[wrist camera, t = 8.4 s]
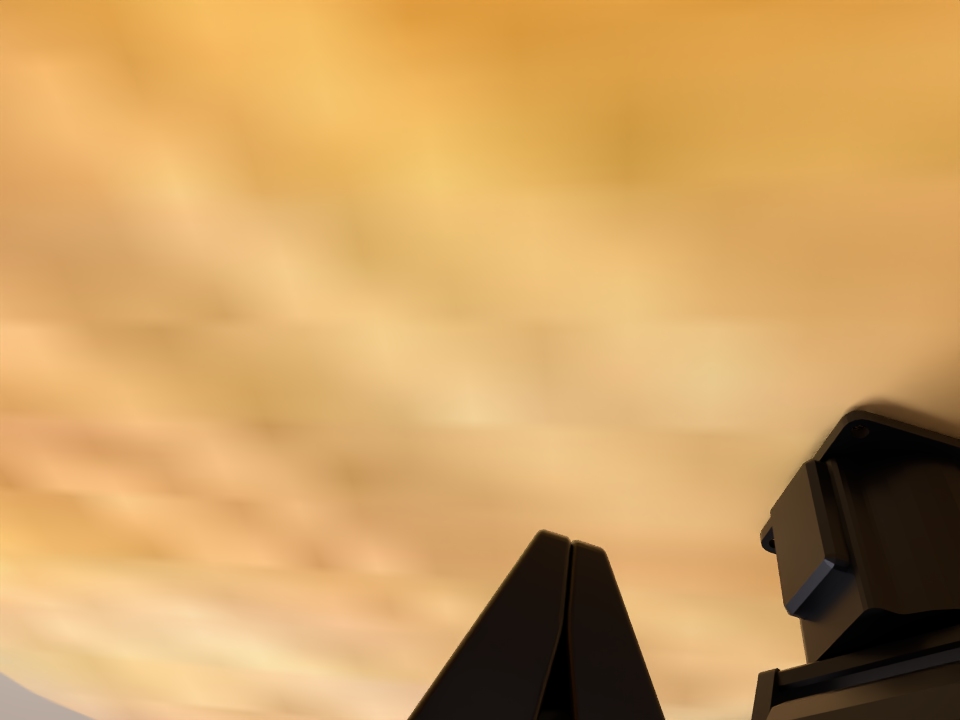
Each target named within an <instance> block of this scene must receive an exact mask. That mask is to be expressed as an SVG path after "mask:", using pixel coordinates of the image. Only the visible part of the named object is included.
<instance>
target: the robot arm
mask: <svg viewBox="0 0 960 720" xmlns="http://www.w3.org/2000/svg"><path fill="white" fill-rule="evenodd" d="M859 425H862V426H865V427H864V428H862V429H859V430H853V428H854V427H855V426H859ZM770 514H771V518H770V519H769V521H768V522H767V523H766V525H765V526H764V528H763V529H762V530H761V533H760V538H761V544H762V547H763V548H764V549H765V550H766V551H768V552H771V553H774V554H776V555H777V562H778V569H779V576H780V583H781V589H782V596H783V603H784V607H785V608H786V610H787V612H788V614H789V615H791V616H794V617H798V618H799V619H800V625H801V631H802V637H803V643H804V649H805V655H806V661H807V664H804V665H801V666H797V667H793V668H789V669H786V670H782V671H780V670H779V669H778V668H776V669H772V670H768V671H765V672H761V673H759V675H758V681H757V687H756V694H755V700H754V706H753V713H752V719H751V720H960V440H958V439H955V438H952V437H948V436H945V435H942V434H939V433H935V432H932V431H929V430H925V429H922V428H919V427H915V426H912V425H909V424H905V423H902V422H899V421H896V420H892V419H889V418H886V417H882V416H879V415H876V414H872V413H869V412H866V411H853V412H850V413H848V414H846V415H845V416H844V417H842V418H841V420H840V421H839V423H838V424H837V425H836V427H835V428H834V430H833V431H832V432H831V434H830V435H829V437H828V438H827V439H826V441H825V442H824V444H823V445H822V446H821V448H820V449H819V451H818V452H817V453H816V455H815V456H814V458H813V459H810V460H809V461H807V462H805V463H804V464H803V465H802V466H801V468H800V469H799V471H798V472H797V473H796V475H795V476H794V478H793V479H792V481H791V482H790V483H789V485H788V486H787V488H786V489H785V490H784V492H783V493H782V495H781V496H780V498H779V499H778V500H777V502H776V503H775V505H774V506H773V507H772V509H771V511H770ZM773 539H774V540H773ZM407 720H665V718H664V715H663V712H662V709H661V706H660V704H659V701H658V698H657V695H656V692H655V689H654V687H653V684H652V681H651V678H650V675H649V672H648V670H647V667H646V664H645V661H644V658H643V655H642V653H641V650H640V647H639V644H638V641H637V639H636V636H635V633H634V630H633V627H632V624H631V622H630V619H629V616H628V613H627V610H626V607H625V605H624V602H623V599H622V596H621V593H620V590H619V588H618V585H617V582H616V579H615V576H614V574H613V571H612V568H611V565H610V562H609V559H608V557H607V554H606V552H605V551H604V550H603V549H602V548H600V547H598V546H595V545H592V544H589V543H585V542H582V541H579V540H574V541H572V542H570V539H569V538H568V537H566V536H563V535H560V534H557V533H554V532H551V531H547V530H540V531H538V533H537V534H536V535H535V537H534V538H533V539H532V541H531V542H530V544H529V545H528V547H527V548H526V550H525V551H524V552H523V554H522V555H521V557H520V558H519V560H518V561H517V562H516V564H515V565H514V567H513V568H512V570H511V571H510V573H509V574H508V575H507V577H506V578H505V580H504V581H503V583H502V584H501V585H500V587H499V588H498V590H497V591H496V593H495V594H494V596H493V597H492V598H491V600H490V601H489V603H488V604H487V606H486V607H485V609H484V610H483V611H482V613H481V614H480V616H479V617H478V619H477V620H476V621H475V623H474V624H473V626H472V627H471V629H470V630H469V632H468V633H467V634H466V636H465V637H464V639H463V640H462V642H461V643H460V644H459V646H458V647H457V649H456V650H455V652H454V653H453V655H452V656H451V657H450V659H449V660H448V662H447V663H446V665H445V666H444V668H443V669H442V670H441V672H440V673H439V675H438V676H437V678H436V679H435V680H434V682H433V683H432V685H431V686H430V688H429V689H428V691H427V692H426V693H425V695H424V696H423V698H422V699H421V701H420V702H419V703H418V705H417V706H416V708H415V709H414V711H413V712H412V714H411V715H410V716H409V718H408V719H407Z"/></svg>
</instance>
